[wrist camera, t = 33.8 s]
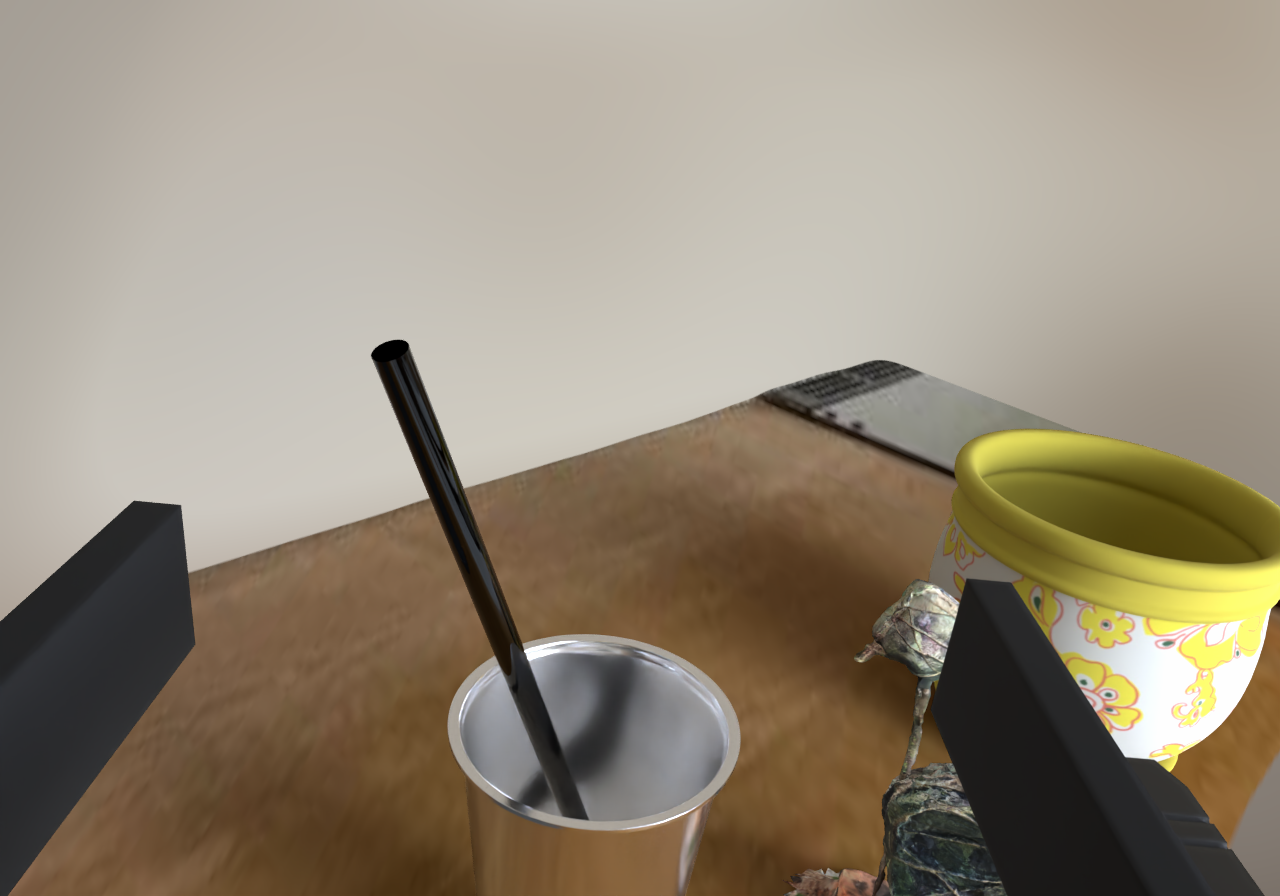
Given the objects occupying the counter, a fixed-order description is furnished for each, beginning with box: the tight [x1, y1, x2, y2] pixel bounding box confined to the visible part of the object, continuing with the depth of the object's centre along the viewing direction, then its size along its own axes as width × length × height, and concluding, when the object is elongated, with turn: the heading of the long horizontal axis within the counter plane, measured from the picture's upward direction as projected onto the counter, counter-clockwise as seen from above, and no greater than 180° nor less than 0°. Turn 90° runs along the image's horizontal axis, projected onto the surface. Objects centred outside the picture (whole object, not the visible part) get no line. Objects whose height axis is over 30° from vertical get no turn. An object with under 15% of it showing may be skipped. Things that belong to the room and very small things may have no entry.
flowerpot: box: [928, 429, 1280, 772], centre depth 57 cm, size 18×18×16 cm
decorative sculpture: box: [782, 579, 1007, 896], centre depth 39 cm, size 8×11×20 cm
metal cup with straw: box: [371, 340, 740, 896], centre depth 33 cm, size 11×11×30 cm
